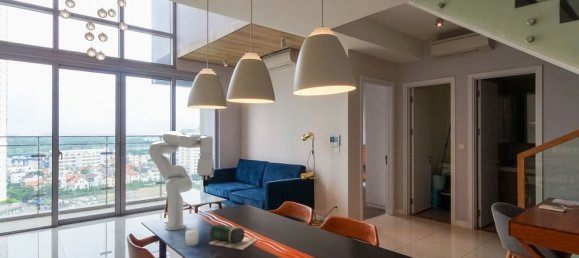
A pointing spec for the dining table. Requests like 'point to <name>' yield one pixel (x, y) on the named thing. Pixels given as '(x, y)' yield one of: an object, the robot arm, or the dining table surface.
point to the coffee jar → (227, 233)
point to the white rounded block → (191, 237)
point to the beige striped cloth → (240, 245)
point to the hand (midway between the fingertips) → (205, 185)
